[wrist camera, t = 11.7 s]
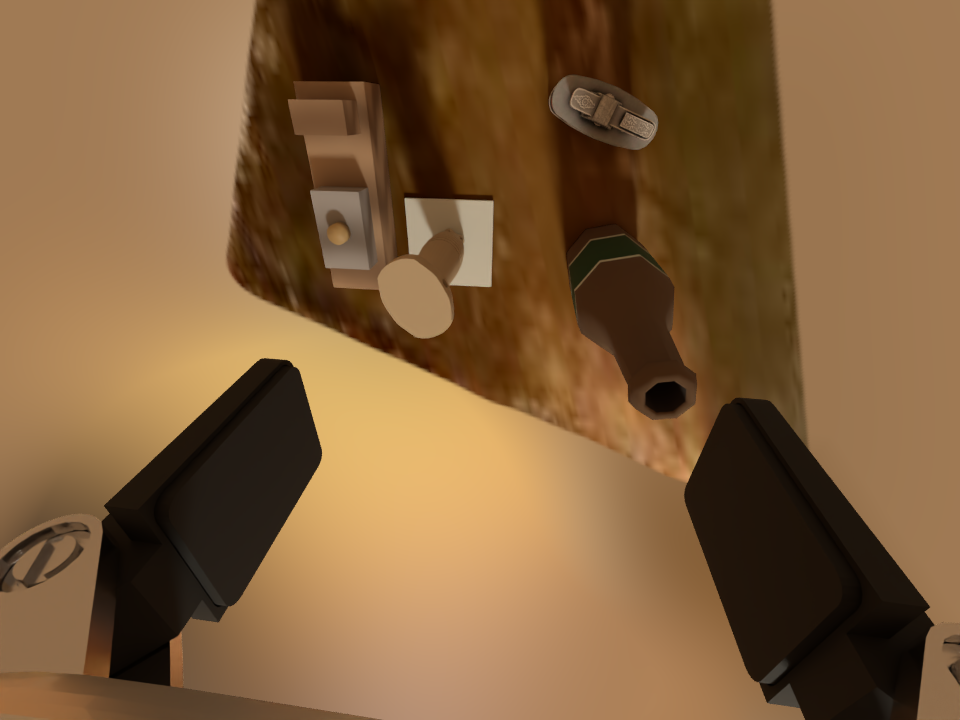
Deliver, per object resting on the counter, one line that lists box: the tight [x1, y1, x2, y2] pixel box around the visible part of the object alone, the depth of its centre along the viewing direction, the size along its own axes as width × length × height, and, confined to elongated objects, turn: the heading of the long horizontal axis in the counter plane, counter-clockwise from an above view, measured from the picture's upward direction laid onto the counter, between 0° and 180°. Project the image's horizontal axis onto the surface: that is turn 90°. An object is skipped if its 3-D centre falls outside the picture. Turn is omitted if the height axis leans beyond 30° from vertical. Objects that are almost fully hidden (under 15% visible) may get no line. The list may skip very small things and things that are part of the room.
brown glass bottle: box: [567, 224, 697, 420], centre depth 32 cm, size 8×8×24 cm
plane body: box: [288, 81, 397, 290], centre depth 38 cm, size 18×6×7 cm, turn 0°
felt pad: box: [405, 198, 494, 287], centre depth 42 cm, size 9×9×1 cm
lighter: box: [549, 75, 658, 150], centre depth 31 cm, size 8×3×10 cm, turn 69°
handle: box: [377, 228, 464, 338], centre depth 36 cm, size 5×6×15 cm
